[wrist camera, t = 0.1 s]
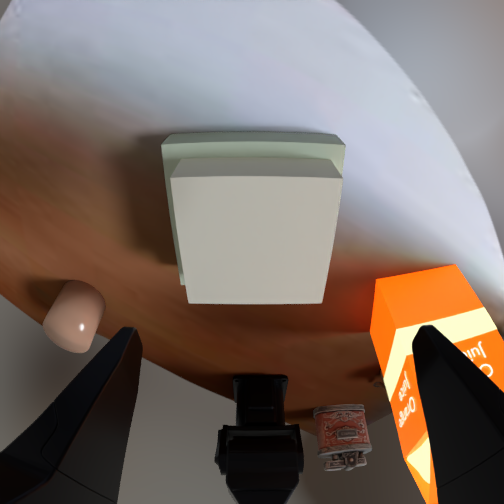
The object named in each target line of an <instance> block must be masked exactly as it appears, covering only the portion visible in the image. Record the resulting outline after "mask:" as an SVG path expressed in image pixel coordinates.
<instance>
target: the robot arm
mask: <svg viewBox="0 0 504 504" xmlns="http://www.w3.org/2000/svg"><path fill="white" fill-rule="evenodd" d="M142 351H143V347H142V342H141V340H140V337H139V334H138V332H137V329H136V328H134V327H123V328H121V329H120V330H119V331H118V332H117V333H116V334H115V335H114V336H113V338H112V339H111V340H110V341H109V342H108V343H107V344H106V345H105V346H104V347H103V348H102V349H101V350H100V351H99V352H98V353H97V354H96V355H95V357H94V358H93V359H92V360H91V361H90V362H89V363H88V364H87V365H86V366H85V367H84V368H83V369H82V370H81V372H80V373H79V374H78V375H77V376H76V377H75V378H74V379H73V380H72V381H71V382H70V383H69V384H68V386H67V387H66V388H65V389H64V390H63V391H62V392H61V393H60V394H59V395H58V397H57V398H56V399H55V400H54V402H52V403H51V404H50V405H49V406H48V408H47V409H46V410H45V411H44V412H43V413H42V414H41V415H40V416H39V417H38V418H37V419H36V420H35V421H34V422H33V423H32V424H31V425H30V426H29V427H28V428H27V429H26V430H25V431H24V432H23V433H21V435H19V436H18V437H17V438H16V439H15V440H14V441H13V442H12V443H11V444H9V445H8V446H7V447H6V448H5V449H4V450H3V451H1V452H0V504H117V500H118V494H119V487H120V481H121V474H122V469H123V463H124V458H125V452H126V447H127V442H128V437H129V431H130V427H131V422H132V417H133V412H134V408H135V403H136V398H137V393H138V385H139V376H140V367H141V359H142ZM412 353H413V359H414V366H415V372H416V380H417V386H418V391H419V395H420V399H421V404H422V408H423V413H424V418H425V422H426V427H427V432H428V438H429V443H430V449H431V455H432V461H433V467H434V474H435V481H436V488H437V498H438V504H504V392H503V391H502V390H501V389H499V387H498V386H497V385H496V384H495V383H494V382H493V381H492V380H491V379H490V378H489V377H488V376H487V375H486V374H485V373H484V372H483V371H482V370H481V369H480V368H479V367H478V366H477V365H475V364H474V363H473V362H472V361H471V360H470V359H469V358H468V357H467V356H466V355H465V354H464V353H463V352H462V351H461V350H460V349H459V348H457V347H456V346H455V345H454V344H453V343H452V342H451V341H450V340H449V339H448V338H447V337H446V336H444V335H443V334H442V333H441V332H440V331H439V330H438V329H437V328H436V327H435V326H433V325H422V326H421V327H420V328H419V330H418V331H417V333H416V335H415V337H414V339H413V341H412ZM287 384H288V377H287V376H234V377H233V389H234V400H235V403H237V408H236V426H228V425H223V429H221V430H219V431H218V443H217V449H216V454H215V463H216V464H217V465H218V466H219V469H220V472H221V475H226V484H227V488H228V491H229V493H230V495H231V496H232V498H233V500H234V501H235V502H236V504H287V502H288V500H289V499H290V497H291V495H292V494H293V492H294V490H295V488H296V487H297V485H298V482H299V474H302V473H303V467H304V455H303V447H302V441H301V435H300V428H299V424H294V425H285V416H284V400H285V395H286V389H287Z"/></svg>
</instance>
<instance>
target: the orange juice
mask: <svg viewBox="0 0 504 504" xmlns="http://www.w3.org/2000/svg"><path fill="white" fill-rule="evenodd" d="M422 325H433V326H435V327H436V328H437V329H438V330H439V331H440V332H441V333H442V334H443V335H444V336H446V337H447V338H448V339H449V340H450V341H451V342H452V343H453V344H454V345H455V346H456V347H457V348H459V349H460V350H461V351H462V352H463V353H464V354H465V355H466V356H467V357H468V358H469V359H470V360H471V361H472V362H473V363H474V364H475V365H477V366H478V367H479V368H480V369H481V370H482V371H483V372H484V373H485V374H486V375H487V376H488V377H489V378H490V379H491V380H492V381H493V382H494V383H495V384H496V385H497V386H498V387H499V389H501V390H502V391H503V392H504V342H503V340H502V338H501V336H500V334H499V333H498V331H497V328H496V326H495V324H494V323H493V321H492V319H491V318H490V316H489V314H488V312H487V311H486V309H485V308H484V307H483V305H482V304H481V302H480V301H479V299H478V297H477V296H476V294H475V293H474V291H473V290H472V288H471V287H470V285H469V284H468V282H467V281H466V279H465V278H464V276H463V275H462V273H461V272H460V270H459V269H458V267H457V266H456V264H455V265H450V266H445V267H440V268H435V269H430V270H425V271H420V272H414V273H409V274H403V275H398V276H392V277H386V278H381V279H376V286H375V295H374V304H373V313H372V320H371V328H370V334H371V337H372V340H373V343H374V347H375V350H376V353H377V356H378V360H379V363H380V367H381V370H382V373H383V377H384V383H385V386H386V390H387V393H388V397H389V401H390V403H391V406H392V410H393V414H394V418H395V422H396V426H397V430H398V435H399V439H400V443H401V448H402V452H403V457H404V459H405V461H406V463H407V465H408V467H409V469H410V471H411V473H412V475H413V477H414V479H415V481H416V483H417V485H418V487H419V489H420V491H421V493H422V495H423V497H424V499H425V501H426V503H427V504H438V498H437V488H436V481H435V474H434V467H433V461H432V455H431V449H430V443H429V438H428V432H427V427H426V422H425V418H424V413H423V408H422V404H421V399H420V395H419V391H418V386H417V380H416V372H415V366H414V359H413V353H412V341H413V339H414V337H415V335H416V333H417V331H418V330H419V328H420V327H421V326H422Z"/></svg>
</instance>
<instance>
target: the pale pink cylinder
mask: <svg viewBox="0 0 504 504" xmlns="http://www.w3.org/2000/svg"><path fill="white" fill-rule="evenodd" d="M105 307H106V305H105V301H104V298H103V297H102V295H101V294H100V293H99V292H98V290H96V289H95V288H94V287H93V286H91V285H89V284H88V283H85V282H83V281H79V280H71V281H68V282H67V283H65V285H64V286H63V288H62V289H61V291H60V293H59V295H58V296H57V298H56V300H55V302H54V303H53V305H52V307H51V309H50V311H49V312H48V314H47V316H46V318H45V320H44V322H43V328H44V331H45V333H46V334H47V336H48V337H49V338H50V339H51V340H52V341H53V342H54V343H56V344H57V345H58V346H60V347H62V348H63V349H66V350H68V351H71V352H75V353H83V352H86V351H87V350H88V349H89V347H90V345H91V342H92V340H93V337H94V335H95V332H96V330H97V327H98V325H99V323H100V320H101V318H102V315H103V313H104V311H105Z"/></svg>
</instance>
